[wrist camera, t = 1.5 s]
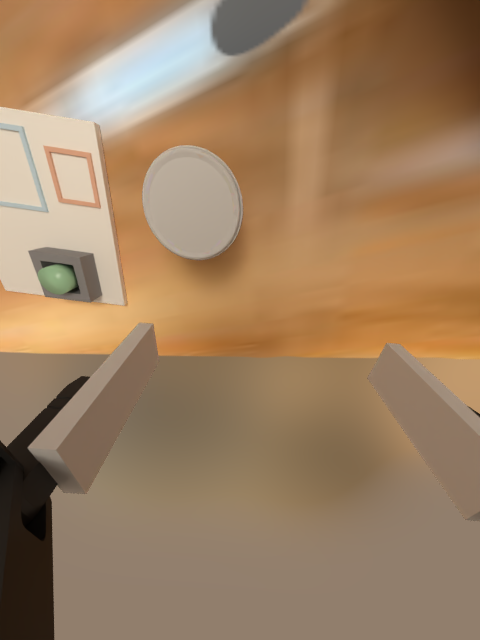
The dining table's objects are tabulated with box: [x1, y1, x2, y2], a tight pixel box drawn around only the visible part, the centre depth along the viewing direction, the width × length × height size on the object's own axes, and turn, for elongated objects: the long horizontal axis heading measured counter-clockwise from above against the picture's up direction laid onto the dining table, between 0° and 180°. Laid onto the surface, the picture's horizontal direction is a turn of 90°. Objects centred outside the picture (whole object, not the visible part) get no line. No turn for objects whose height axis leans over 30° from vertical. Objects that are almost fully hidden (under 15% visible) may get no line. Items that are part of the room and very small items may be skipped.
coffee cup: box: [142, 145, 243, 260], centre depth 24 cm, size 9×9×12 cm
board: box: [0, 107, 127, 306], centre depth 28 cm, size 24×20×4 cm
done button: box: [38, 263, 79, 295], centre depth 30 cm, size 4×4×3 cm
